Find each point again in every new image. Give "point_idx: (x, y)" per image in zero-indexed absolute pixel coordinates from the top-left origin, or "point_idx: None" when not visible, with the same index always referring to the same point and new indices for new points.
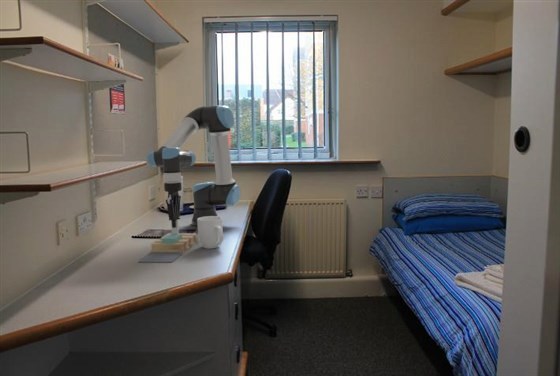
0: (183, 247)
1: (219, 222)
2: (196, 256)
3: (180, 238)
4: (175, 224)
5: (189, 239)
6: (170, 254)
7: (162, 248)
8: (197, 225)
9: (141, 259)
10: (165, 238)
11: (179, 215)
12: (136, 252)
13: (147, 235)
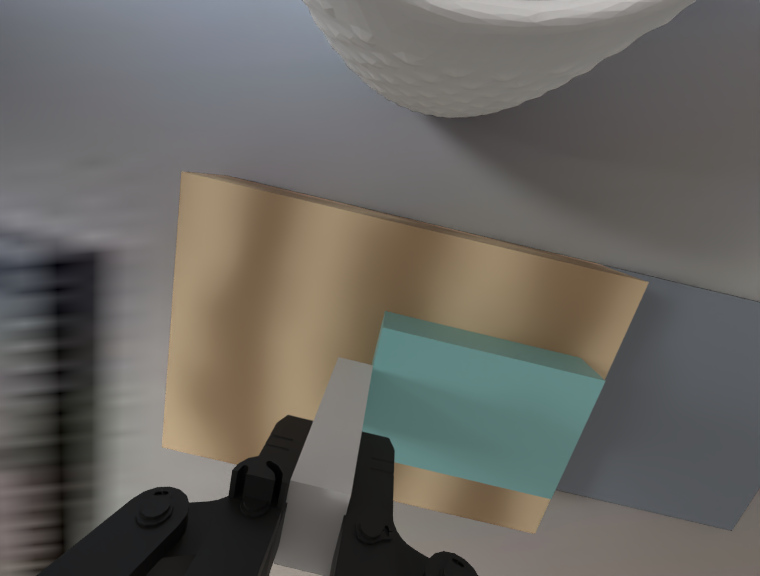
0: (610, 270)
1: None
2: (754, 140)
3: (428, 323)
4: (372, 464)
5: (437, 231)
6: (631, 355)
7: None
8: (526, 82)
9: (690, 517)
10: (558, 465)
11: (154, 516)
12: (461, 555)
13: (10, 543)
